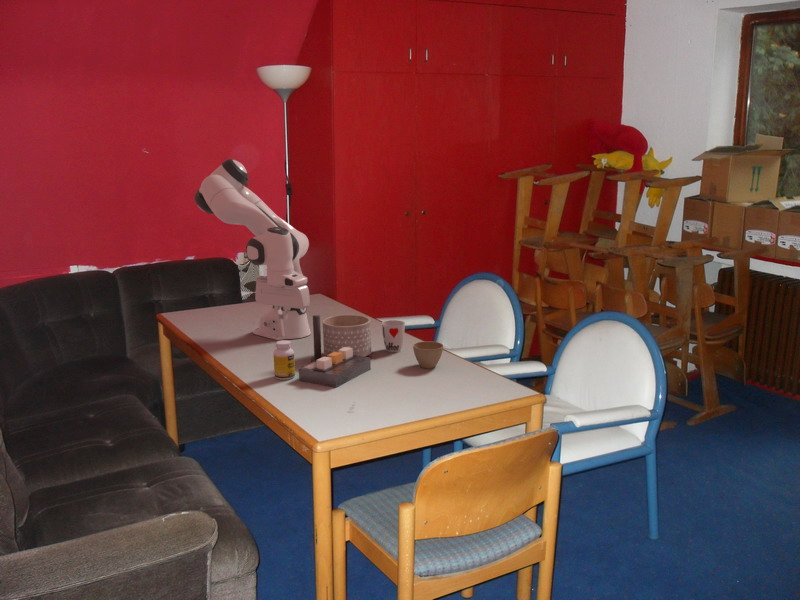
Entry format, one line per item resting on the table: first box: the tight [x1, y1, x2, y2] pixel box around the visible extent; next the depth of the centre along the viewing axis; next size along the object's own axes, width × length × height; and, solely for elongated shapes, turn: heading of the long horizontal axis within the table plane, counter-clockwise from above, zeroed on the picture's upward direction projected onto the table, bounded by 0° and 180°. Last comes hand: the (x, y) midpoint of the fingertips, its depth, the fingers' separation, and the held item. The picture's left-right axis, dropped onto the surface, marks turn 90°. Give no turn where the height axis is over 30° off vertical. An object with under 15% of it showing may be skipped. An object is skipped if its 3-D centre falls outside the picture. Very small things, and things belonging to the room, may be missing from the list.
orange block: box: [328, 352, 343, 364], centre depth 241 cm, size 3×4×3 cm
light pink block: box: [316, 356, 332, 370], centre depth 236 cm, size 3×4×3 cm
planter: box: [322, 314, 372, 357], centre depth 261 cm, size 16×16×13 cm
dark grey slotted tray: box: [298, 355, 372, 388], centre depth 242 cm, size 14×20×4 cm
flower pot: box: [412, 340, 444, 369], centre depth 249 cm, size 10×10×7 cm
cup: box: [381, 319, 406, 353], centre depth 267 cm, size 8×8×10 cm
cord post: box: [310, 314, 323, 363], centre depth 254 cm, size 5×5×16 cm
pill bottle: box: [273, 339, 296, 381], centre depth 239 cm, size 6×6×12 cm
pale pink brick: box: [338, 347, 353, 359], centre depth 246 cm, size 3×4×3 cm
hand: (283, 319), depth 248 cm, fingers closed
